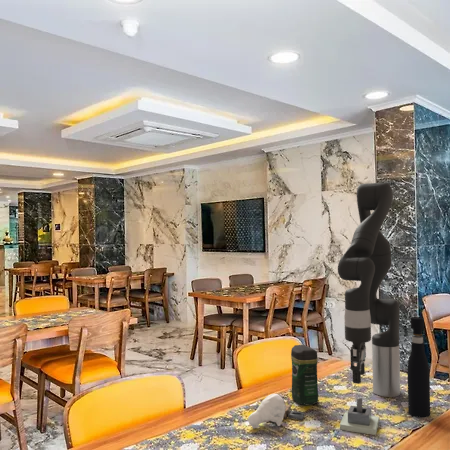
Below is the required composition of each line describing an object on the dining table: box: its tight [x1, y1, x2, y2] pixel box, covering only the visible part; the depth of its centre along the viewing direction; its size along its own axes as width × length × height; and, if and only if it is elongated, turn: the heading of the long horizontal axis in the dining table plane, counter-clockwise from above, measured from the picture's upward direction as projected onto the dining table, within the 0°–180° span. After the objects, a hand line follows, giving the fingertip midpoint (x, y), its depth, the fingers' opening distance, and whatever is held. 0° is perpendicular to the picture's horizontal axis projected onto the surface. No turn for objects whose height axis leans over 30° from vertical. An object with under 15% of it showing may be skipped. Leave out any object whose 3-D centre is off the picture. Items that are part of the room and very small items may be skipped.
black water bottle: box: [406, 316, 431, 419], centre depth 146 cm, size 6×6×30 cm
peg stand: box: [339, 397, 380, 436], centre depth 138 cm, size 10×10×8 cm
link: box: [347, 405, 372, 426], centre depth 138 cm, size 6×6×3 cm
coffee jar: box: [290, 344, 319, 406], centre depth 159 cm, size 10×8×19 cm
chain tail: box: [283, 404, 306, 421], centre depth 145 cm, size 5×8×2 cm, turn 66°
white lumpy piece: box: [247, 393, 286, 430], centre depth 139 cm, size 6×8×12 cm
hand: (358, 378), depth 138 cm, fingers open, 8 cm apart
